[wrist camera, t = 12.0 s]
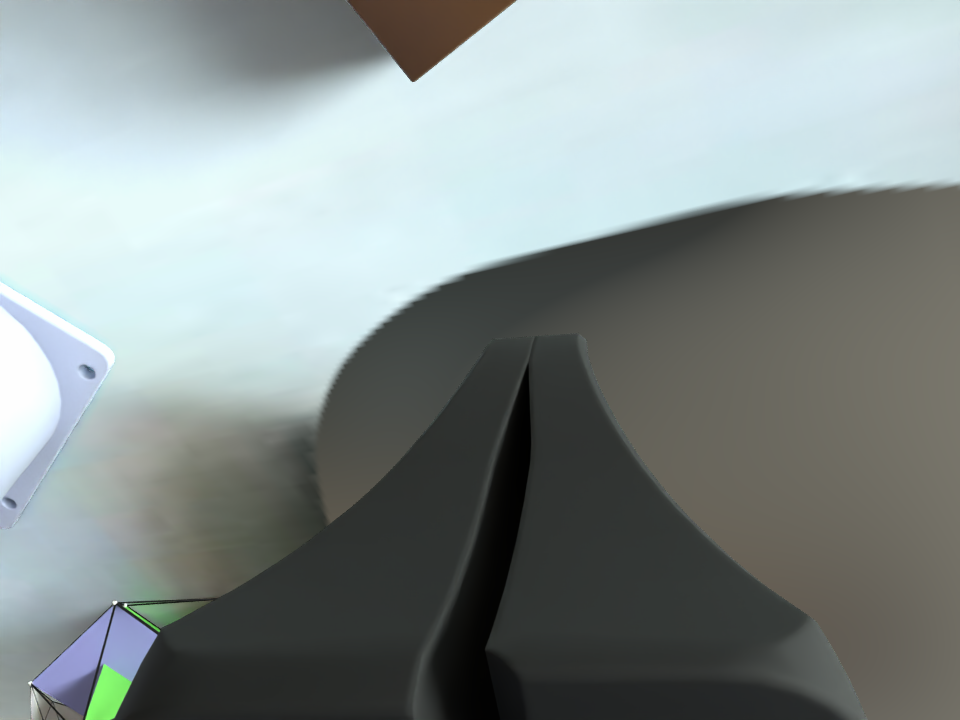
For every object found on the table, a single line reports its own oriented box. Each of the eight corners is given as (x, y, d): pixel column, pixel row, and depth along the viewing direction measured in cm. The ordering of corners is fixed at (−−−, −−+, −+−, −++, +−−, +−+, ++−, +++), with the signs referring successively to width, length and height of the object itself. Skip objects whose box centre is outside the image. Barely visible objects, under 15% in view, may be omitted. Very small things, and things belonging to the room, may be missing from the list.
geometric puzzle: (177, 552, 28) (-15, 793, 25) (335, 669, 30) (179, 901, 27) (132, 531, 34) (-26, 722, 31) (267, 630, 36) (133, 816, 33)
